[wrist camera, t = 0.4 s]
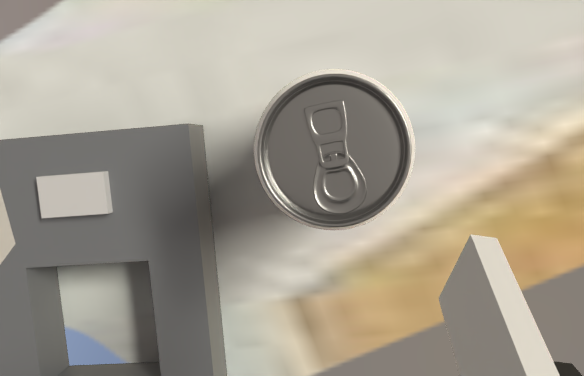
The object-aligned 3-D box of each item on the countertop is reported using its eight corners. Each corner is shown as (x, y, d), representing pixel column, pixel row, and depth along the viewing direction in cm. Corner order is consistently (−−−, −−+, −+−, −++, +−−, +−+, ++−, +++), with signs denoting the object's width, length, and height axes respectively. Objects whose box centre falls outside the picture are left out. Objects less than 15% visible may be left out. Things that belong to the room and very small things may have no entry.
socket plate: (229, 398, 31) (216, 431, 28) (30, 404, 33) (-8, 437, 29) (202, 125, 30) (185, 123, 26) (-7, 143, 31) (-51, 143, 27)
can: (291, 207, 30) (264, 253, 18) (271, 105, 29) (229, 81, 17) (394, 188, 29) (438, 222, 17) (375, 83, 28) (407, 43, 17)
